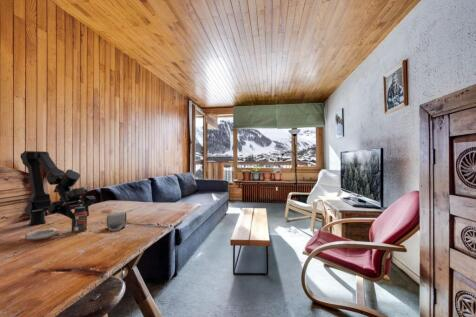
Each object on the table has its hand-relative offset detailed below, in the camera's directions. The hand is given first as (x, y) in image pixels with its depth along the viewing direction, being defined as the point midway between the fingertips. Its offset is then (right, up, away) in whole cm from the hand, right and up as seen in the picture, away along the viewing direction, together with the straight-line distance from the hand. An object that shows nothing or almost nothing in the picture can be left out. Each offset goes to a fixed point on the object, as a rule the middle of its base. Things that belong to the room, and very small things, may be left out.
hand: (81, 217), depth 101 cm
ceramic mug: (+14, -7, +5) cm, 17 cm away
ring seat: (-13, -6, -6) cm, 16 cm away
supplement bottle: (-1, -7, 0) cm, 7 cm away
